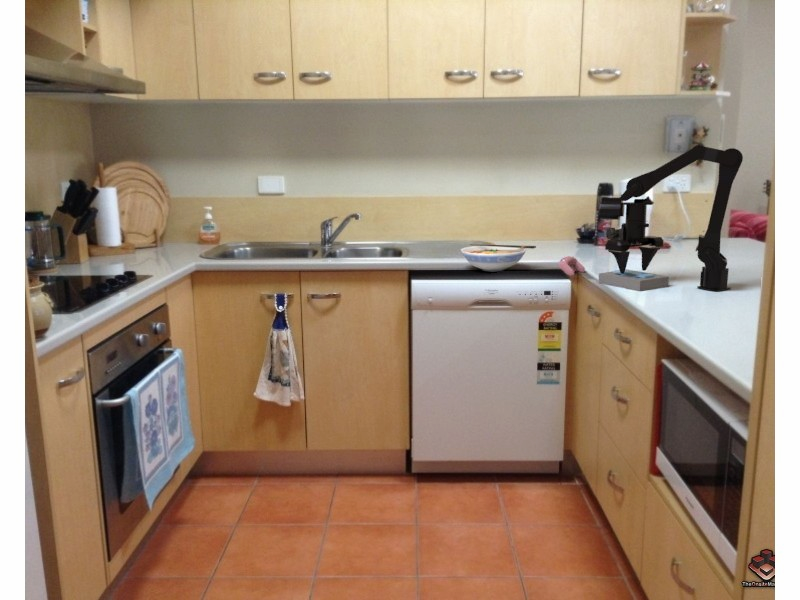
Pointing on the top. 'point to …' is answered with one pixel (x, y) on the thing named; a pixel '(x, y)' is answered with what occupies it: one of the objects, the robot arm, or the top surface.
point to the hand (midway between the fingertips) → (633, 272)
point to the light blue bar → (634, 274)
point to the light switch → (633, 281)
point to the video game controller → (570, 265)
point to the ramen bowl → (494, 256)
